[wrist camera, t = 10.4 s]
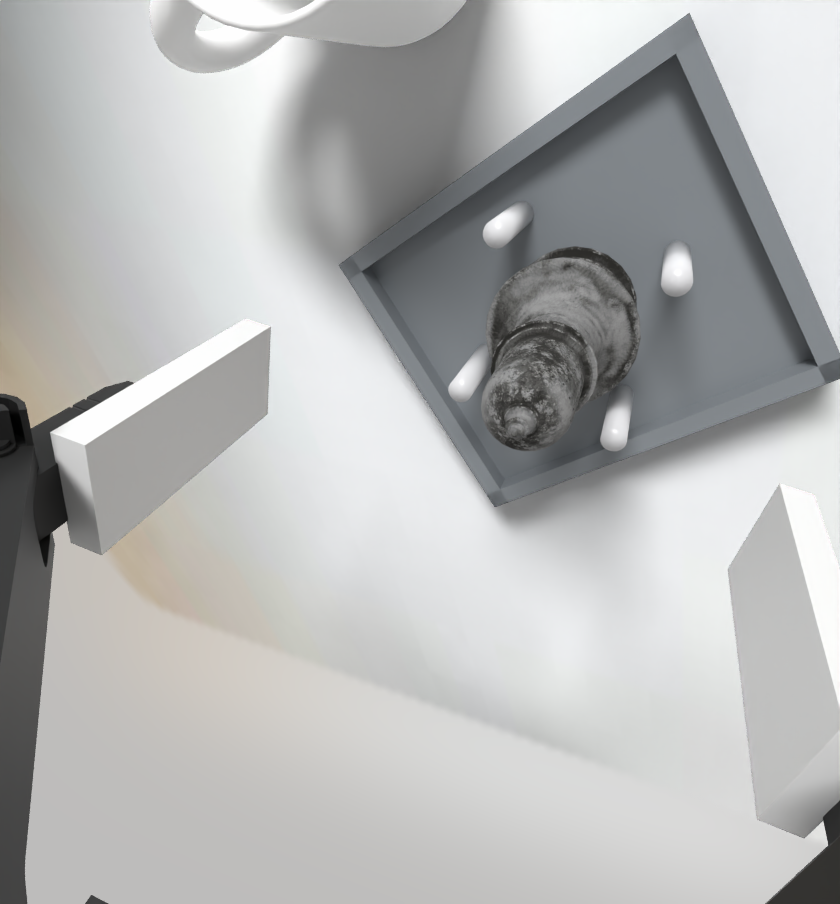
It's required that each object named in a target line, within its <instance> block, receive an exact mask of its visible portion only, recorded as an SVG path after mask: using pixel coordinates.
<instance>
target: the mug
mask: <svg viewBox="0 0 840 904" xmlns="http://www.w3.org/2000/svg"><path fill="white" fill-rule="evenodd" d="M466 1H467V0H151V1H150V11H149V12H150V22H151V31H152V34H153V37H154V39H155V41H156V44H157V46H158V48H159V49H160V51H161V52H162V53H163V54H164V56H165V57H166V58H167V59H168V60H169V61H171V62H172V63H173V64H175V65H176V66H178V67H180V68H182V69H185V70H188V71H191V72H194V73H214V72H220V71H225V70H229V69H232V68H235V67H238V66H240V65H242V64H244V63H247V62H249V61H251V60H252V59H254V58H256V57H257V56H259V55H261V54H262V53H264V52H265V51H266V50H268V49H269V48H271V47H272V46H273V45H274V44H276V43H277V42H278V41H279V40H280V39H281V38H283V37H284V36H293V37H301V38H308V39H316V40H324V41H331V42H339V43H347V44H355V45H362V46H372V47H395V46H402V45H406V44H411V43H414V42H416V41H418V40H421V39H423V38H425V37H428V36H429V35H431V34H432V33H434V32H436V31H437V30H439V29H440V28H441V27H443V26H444V25H445V24H446V23H448V22H449V21H450V20H451V19H452V18H453V17H454V16H455V15H456V14H457V13H458V11H459V10H460V9H461V8H462V7H463V5H464V4H465V2H466ZM203 13H204V14H205V15H207V16H208V17H210V18H211V19H214V20H216V21H218V22H220V23H223V24H225V25H227V26H225V27H222V28H220V29H217V30H213V31H196V26H197V24H198V21H199V20H200V18H201V16H202V14H203Z"/></svg>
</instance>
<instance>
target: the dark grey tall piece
mask: <svg viewBox="0 0 840 904" xmlns="http://www.w3.org/2000/svg"><path fill="white" fill-rule="evenodd" d="M485 334H486V341H487V347H488V352H489V355H490V357H491V359H492V363H491V377H490V379H489V380H488V382H487V384H486V386H485V389H484V391H483V394H482V402H481V412H482V418H483V421H484V423H485V425H486V428H487V429H488V431H489V432H490V433H491V434H492V436H493V437H494V438H495V439H496V440H498V441H499V442H500V443H502V444H503V445H505V446H507V447H510V448H512V449H515V450H520V451H537V450H541V449H545V448H547V447H549V446H551V445H552V444H554V443H556V442H557V441H558V440H559V439H560V438H561V437H562V436H563V435H564V434H565V433H566V432H567V430H568V429H569V427H570V425H571V423H572V421H573V418H574V415H575V413H576V412H577V411H579V410H580V409H581V408H582V407H583V406H584V405H585V404H586V403H587V402H589V401H593V400H596V399H598V398H599V397H601V396H603V395H604V394H606V393H608V392H609V391H611V390H613V389H614V388H615V387H616V386H617V385H618V384H619V383H620V382H621V381H622V380H623V379H624V378H625V377H626V375H627V374H628V372H629V370H630V368H631V367H632V365H633V363H634V361H635V360H636V357H637V352H638V348H639V344H640V340H641V332H640V317H639V314H638V312H637V299H636V293H635V290H634V287H633V284H632V281H631V279H630V277H629V276H628V274H627V273H626V272H625V270H624V269H623V267H622V266H621V265H620V264H619V263H617V262H616V261H615V260H614V259H612V258H611V257H610V256H608V255H607V254H604V253H602V252H599V251H597V250H595V249H592V248H585V247H577V246H573V247H566V248H559V249H556V250H554V251H551V252H549V253H547V254H544V255H542V256H541V257H540V258H538V259H537V260H536V261H534V262H533V263H532V264H531V265H529V266H527V267H524V268H522V269H521V270H520V271H518V272H517V273H516V274H515V275H513V276H512V277H511V278H509V279H508V280H507V281H506V282H505V283H504V285H503V286H502V288H501V289H500V290H499V292H498V293H497V294H496V296H495V297H494V299H493V302H492V304H491V307H490V309H489V312H488V315H487V323H486V332H485Z"/></svg>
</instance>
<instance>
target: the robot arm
mask: <svg viewBox="0 0 840 904" xmlns="http://www.w3.org/2000/svg"><path fill="white" fill-rule="evenodd" d="M270 333H271V326H268V325H265V324H262V323H258V322H255V321H252V320H249V319H244V320H242V321H240V322H239V323H237V324H235V325H233V326H232V327H230V328H228V329H227V330H225V331H223V332H221V333H220V334H218V335H216V336H215V337H213V338H211V339H209V340H208V341H206V342H204V343H203V344H201V345H199V346H197V347H196V348H194V349H192V350H191V351H189V352H187V353H185V354H184V355H182V356H180V357H179V358H177V359H175V360H173V361H172V362H170V363H168V364H167V365H165V366H163V367H161V368H160V369H158V370H156V371H155V372H153V373H151V374H149V375H148V376H146V377H144V378H143V379H141V380H139V381H137V382H136V383H133V382H130V381H126V382H123V383H119V384H115V385H112V386H108V387H105V388H103V389H101V390H99V391H97V392H96V393H94V394H92V395H90V396H89V397H87V400H85V399H83V400H81V401H80V402H78V403H76V404H74V405H73V407H72V408H70V407H69V408H67V409H65V410H64V411H62V412H60V413H58V414H56V415H55V416H53V417H51V418H49V419H47V420H46V421H44V422H42V423H40V424H38V425H37V426H35V427H33V428H30V423H29V419H28V414H27V409H26V405H25V402H23V401H22V400H20V399H19V398H18V397H14V396H10V395H7V394H0V904H27V895H26V886H25V855H26V845H27V834H28V823H29V813H30V802H31V791H32V781H33V770H34V758H35V749H36V738H37V728H38V717H39V706H40V695H41V685H42V674H43V664H44V653H45V652H44V651H45V642H46V632H47V621H48V610H49V599H50V589H51V578H52V568H53V556H54V546H55V543H54V539H53V534H52V532H53V531H54V530H56V529H57V528H58V527H60V526H61V525H62V524H63V523H65V522H66V521H67V524H68V530H69V535H70V540H71V543H73V544H76V545H78V546H80V547H83V548H85V549H88V550H90V551H93V552H95V553H98V554H100V555H103V554H104V553H105V552H106V551H107V550H109V549H110V548H111V547H112V546H113V545H114V544H116V543H117V542H118V541H119V540H120V539H121V538H123V537H124V536H125V535H126V534H127V533H129V532H130V531H131V530H132V529H133V528H134V527H136V526H137V525H138V524H139V523H140V522H141V521H143V520H144V519H145V518H146V517H147V516H148V515H150V514H151V513H152V512H153V511H154V510H155V509H157V508H158V507H159V506H160V505H161V504H163V503H164V502H165V501H166V500H167V499H168V498H170V497H171V496H172V495H173V494H174V493H175V492H177V491H178V490H179V489H180V488H181V487H182V486H184V485H185V484H186V483H187V482H188V481H190V480H191V479H192V478H193V477H194V476H195V475H197V474H198V473H199V472H200V471H201V470H202V469H204V468H205V467H206V466H207V465H208V464H209V463H211V462H212V461H213V460H214V459H215V458H216V457H218V456H219V455H220V454H221V453H222V452H224V451H225V450H226V449H227V448H228V447H229V446H231V445H232V444H233V443H234V442H235V441H236V440H238V439H239V438H240V437H241V436H242V435H243V434H245V433H246V432H247V431H248V430H249V429H251V428H252V427H253V426H254V425H255V424H256V423H258V422H259V421H260V420H261V419H262V418H263V417H265V416H266V415H267V413H268V386H269V360H270ZM728 576H729V584H730V593H731V601H732V610H733V619H734V627H735V636H736V644H737V653H738V661H739V670H740V678H741V687H742V695H743V704H744V712H745V721H746V729H747V738H748V747H749V755H750V764H751V772H752V781H753V789H754V798H755V806H756V815H757V820H760V821H762V822H765V823H767V824H770V825H772V826H775V827H777V828H780V829H782V830H785V831H787V832H789V833H792V834H794V835H797V836H799V837H802V838H805V837H806V836H807V835H808V834H809V833H811V832H812V831H813V830H814V829H815V828H816V827H817V826H818V825H819V824H820V823H821V822H822V821H824V826H825V831H826V835H827V840H828V846H827V847H826V848H825V849H824V850H823V851H822V852H821V853H820V854H819V855H817V856H816V857H815V858H814V859H813V860H812V861H811V862H810V863H809V864H808V865H806V866H805V867H804V868H803V869H802V870H801V871H800V872H799V873H798V874H797V875H796V876H795V877H794V878H793V879H792V880H790V882H788V883H787V884H786V885H785V886H784V887H783V888H782V889H781V890H780V891H778V893H776V894H775V895H774V896H773V897H772V898H771V899H770V900H769V901H768V902H767V903H765V904H840V567H839V564H838V561H837V558H836V555H835V553H834V550H833V547H832V544H831V541H830V538H829V535H828V532H827V529H826V526H825V523H824V520H823V518H822V515H821V512H820V509H819V506H818V503H817V500H816V497H815V494H812V493H809V492H806V491H802V490H799V489H796V488H793V487H789V486H786V485H783V484H779V485H778V487H777V489H776V490H775V492H774V494H773V495H772V497H771V499H770V500H769V502H768V504H767V505H766V507H765V508H764V510H763V512H762V513H761V515H760V517H759V518H758V520H757V522H756V523H755V525H754V527H753V528H752V530H751V532H750V533H749V535H748V537H747V538H746V540H745V541H744V543H743V545H742V546H741V548H740V550H739V551H738V553H737V555H736V556H735V558H734V560H733V561H732V563H731V565H730V566H729V568H728ZM85 904H108V903H106V902H104V901H102V900H100V899H98V898H96V897H94V896H93V895H91V896H90V898H89V899H88V901H87V902H86V903H85Z"/></svg>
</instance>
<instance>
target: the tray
mask: <svg viewBox="0 0 840 904" xmlns="http://www.w3.org/2000/svg"><path fill="white" fill-rule="evenodd" d="M573 246H577V247H585V248H592V249H595V250H597V251H599V252H602V253H604V254H607V255H608V256H610V257H611V258H612V259H614V260H615V261H616V262H617V263H619V264H620V265H621V266H622V267H623V269H624V270H625V272H626V273H627V274H628V276H629V277H630V279H631V281H632V284H633V287H634V290H635V293H636V299H637V312H638V314H639V317H640V332H641V340H640V344H639V348H638V352H637V357H636V360H635V361H634V363H633V365H632V367H631V368H630V370H629V372H628V374H627V375H626V377H625V378H624V379H623V380H622V381H621V382H620V383H619V384H618V385H617V386H616V387H615V388H614V389H613V390H611V391H609V392H608V393H606V394H604V395H603V396H601V397H599V398H598V399H596V400H593V401H589V402H587V403H586V404H585V405H584V406H583V407H582V408H581V409H580V410H579V411H577V412H576V413H575V415H574V418H573V421H572V423H571V425H570V427H569V429H568V430H567V432H566V433H565V434H564V435H563V436H562V437H561V438H560V439H559V440H558V441H557V442H556V443H554V444H552V445H551V446H549V447H547V448H545V449H541V450H537V451H520V450H515V449H512V448H510V447H507V446H505V445H503V444H502V443H500V442H499V441H498V440H496V439H495V438H494V437H493V436H492V434H491V433H490V432H489V431H488V429H487V428H486V425H485V423H484V421H483V418H482V412H481V402H482V394H483V391H484V389H485V386H486V384H487V382H488V380H489V379H490V377H491V363H492V359H491V357H490V355H489V352H488V347H487V341H486V334H485V332H486V323H487V315H488V312H489V309H490V307H491V304H492V302H493V299H494V297H495V296H496V294H497V293H498V292H499V290H500V289H501V288H502V286H503V285H504V283H505V282H506V281H507V280H508V279H509V278H511V277H512V276H513V275H515V274H516V273H517V272H518V271H520V270H521V269H522V268H524V267H527V266H529V265H531V264H532V263H533V262H534V261H536V260H537V259H538V258H540V257H541V256H542V255H544V254H547V253H549V252H551V251H554V250H556V249H559V248H566V247H573ZM339 266H340V268H341V269H342V271H343V273H344V274H345V276H346V277H347V279H348V280H349V282H350V283H351V285H352V287H353V288H354V290H355V291H356V293H357V294H358V296H359V297H360V299H361V300H362V302H363V304H364V305H365V307H366V308H367V310H368V311H369V313H370V314H371V316H372V318H373V319H374V321H375V322H376V324H377V325H378V327H379V328H380V330H381V331H382V333H383V335H384V336H385V338H386V339H387V341H388V342H389V344H390V345H391V347H392V349H393V350H394V352H395V353H396V355H397V356H398V358H399V359H400V361H401V362H402V364H403V366H404V367H405V369H406V370H407V372H408V373H409V375H410V376H411V378H412V380H413V381H414V383H415V384H416V386H417V387H418V389H419V390H420V392H421V393H422V395H423V397H424V398H425V400H426V401H427V403H428V404H429V406H430V407H431V409H432V411H433V412H434V414H435V415H436V417H437V418H438V420H439V421H440V423H441V424H442V426H443V428H444V429H445V431H446V432H447V434H448V435H449V437H450V438H451V440H452V442H453V443H454V445H455V446H456V448H457V449H458V451H459V452H460V454H461V455H462V457H463V459H464V460H465V462H466V463H467V465H468V466H469V468H470V469H471V471H472V473H473V474H474V476H475V477H476V479H477V480H478V482H479V483H480V485H481V486H482V488H483V490H484V491H485V493H486V494H487V496H488V497H489V499H490V500H491V502H492V504H493V505H494V507H497V506H499V505H502V504H505V503H507V502H510V501H513V500H515V499H518V498H521V497H523V496H526V495H529V494H532V493H534V492H537V491H540V490H542V489H545V488H548V487H550V486H553V485H556V484H558V483H561V482H564V481H566V480H569V479H572V478H575V477H577V476H580V475H583V474H585V473H588V472H591V471H593V470H596V469H599V468H601V467H604V466H607V465H610V464H612V463H615V462H618V461H620V460H623V459H626V458H628V457H631V456H634V455H636V454H639V453H642V452H644V451H647V450H650V449H653V448H655V447H658V446H661V445H663V444H666V443H669V442H671V441H674V440H677V439H679V438H682V437H685V436H688V435H690V434H693V433H696V432H698V431H701V430H704V429H706V428H709V427H712V426H714V425H717V424H720V423H722V422H725V421H728V420H731V419H733V418H736V417H739V416H741V415H744V414H747V413H749V412H752V411H755V410H757V409H760V408H763V407H765V406H768V405H771V404H774V403H776V402H779V401H782V400H784V399H787V398H790V397H792V396H795V395H798V394H800V393H803V392H806V391H809V390H811V389H814V388H817V387H819V386H822V385H825V384H827V383H830V382H833V381H835V380H838V379H840V353H839V350H838V348H837V346H836V344H835V341H834V339H833V337H832V334H831V332H830V330H829V328H828V325H827V323H826V321H825V319H824V316H823V314H822V312H821V310H820V307H819V305H818V303H817V301H816V298H815V296H814V294H813V291H812V289H811V287H810V285H809V282H808V280H807V278H806V276H805V273H804V271H803V269H802V267H801V264H800V262H799V260H798V258H797V255H796V253H795V251H794V248H793V246H792V244H791V242H790V239H789V237H788V235H787V233H786V230H785V228H784V226H783V224H782V221H781V219H780V217H779V215H778V212H777V210H776V208H775V205H774V203H773V201H772V199H771V196H770V194H769V192H768V190H767V187H766V185H765V183H764V181H763V178H762V176H761V174H760V172H759V169H758V167H757V165H756V162H755V160H754V158H753V156H752V153H751V151H750V149H749V147H748V144H747V142H746V140H745V138H744V135H743V133H742V131H741V128H740V126H739V124H738V122H737V119H736V117H735V115H734V113H733V110H732V108H731V106H730V104H729V101H728V99H727V97H726V95H725V92H724V90H723V88H722V85H721V83H720V81H719V79H718V76H717V74H716V72H715V70H714V67H713V65H712V63H711V61H710V58H709V56H708V54H707V52H706V49H705V47H704V45H703V42H702V40H701V38H700V36H699V33H698V31H697V29H696V27H695V24H694V22H693V20H692V18H691V15H690V13H689V14H687V15H686V16H684V17H683V18H682V19H680V20H679V21H677V22H676V23H675V24H673V25H672V26H671V27H669V28H668V29H666V30H665V31H664V32H662V33H661V34H659V35H658V36H657V37H655V38H654V39H652V40H651V41H650V42H648V43H647V44H645V45H644V46H643V47H641V48H640V49H639V50H637V51H636V52H634V53H633V54H632V55H630V56H629V57H627V58H626V59H625V60H623V61H622V62H620V63H619V64H618V65H616V66H615V67H613V68H612V69H611V70H609V71H608V72H607V73H605V74H604V75H602V76H601V77H600V78H598V79H597V80H595V81H594V82H593V83H591V84H590V85H588V86H587V87H586V88H584V89H583V90H581V91H580V92H579V93H577V94H576V95H575V96H573V97H572V98H570V99H569V100H568V101H566V102H565V103H563V104H562V105H561V106H559V107H558V108H556V109H555V110H554V111H552V112H551V113H549V114H548V115H547V116H545V117H544V118H542V119H541V120H540V121H538V122H537V123H536V124H534V125H533V126H531V127H530V128H529V129H527V130H526V131H524V132H523V133H522V134H520V135H519V136H517V137H516V138H515V139H513V140H512V141H510V142H509V143H508V144H506V145H505V146H504V147H502V148H501V149H499V150H498V151H497V152H495V153H494V154H492V155H491V156H490V157H488V158H487V159H485V160H484V161H483V162H481V163H480V164H478V165H477V166H476V167H474V168H473V169H472V170H470V171H469V172H467V173H466V174H465V175H463V176H462V177H460V178H459V179H458V180H456V181H455V182H453V183H452V184H451V185H449V186H448V187H446V188H445V189H444V190H442V191H441V192H440V193H438V194H437V195H435V196H434V197H433V198H431V199H430V200H428V201H427V202H426V203H424V204H423V205H421V206H420V207H419V208H417V209H416V210H414V211H413V212H412V213H410V214H409V215H408V216H406V217H405V218H403V219H402V220H401V221H399V222H398V223H396V224H395V225H394V226H392V227H391V228H389V229H388V230H387V231H385V232H384V233H382V234H381V235H380V236H378V237H377V238H376V239H374V240H373V241H371V242H370V243H369V244H367V245H366V246H364V247H363V248H362V249H360V250H359V251H357V252H356V253H355V254H353V255H352V256H350V257H349V258H348V259H346V260H345V261H344V262H342V263H341V264H339Z"/></svg>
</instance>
